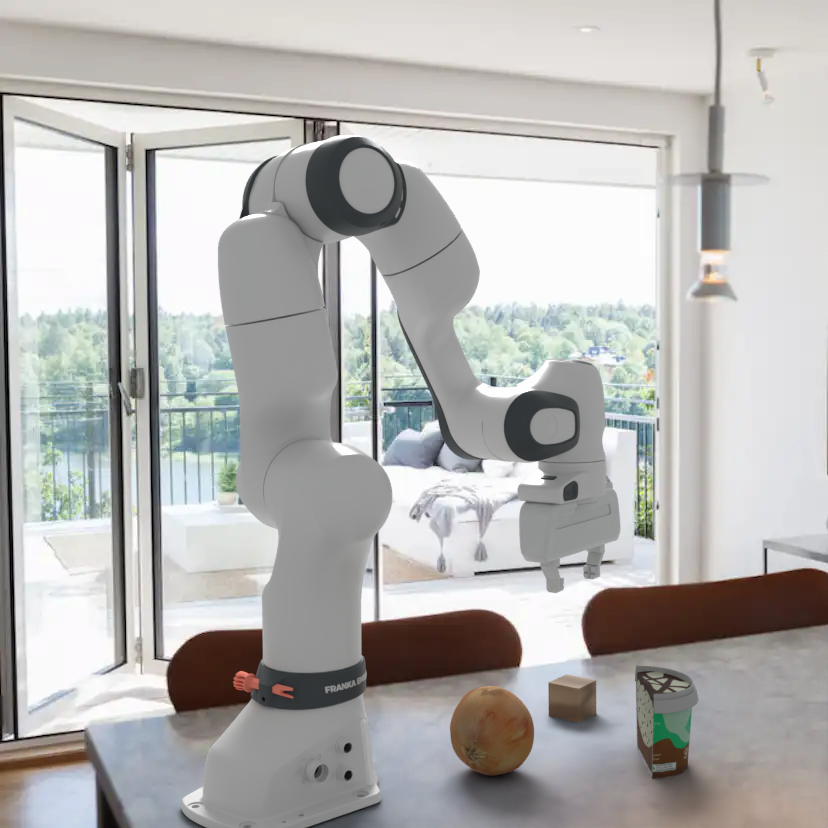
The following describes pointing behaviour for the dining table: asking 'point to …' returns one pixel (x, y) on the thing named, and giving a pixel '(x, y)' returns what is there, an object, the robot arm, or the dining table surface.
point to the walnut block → (572, 698)
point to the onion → (492, 730)
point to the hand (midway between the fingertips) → (574, 584)
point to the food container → (664, 719)
